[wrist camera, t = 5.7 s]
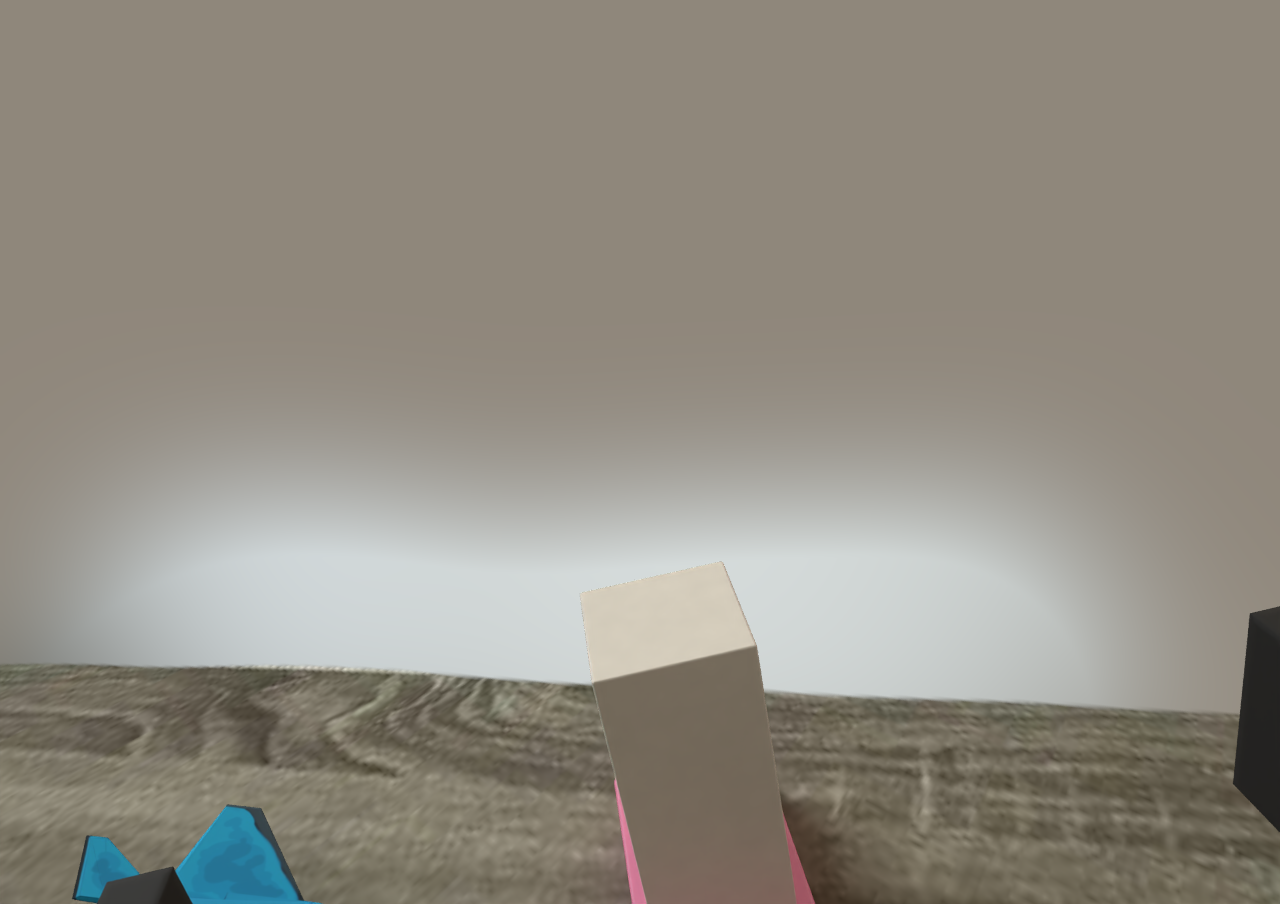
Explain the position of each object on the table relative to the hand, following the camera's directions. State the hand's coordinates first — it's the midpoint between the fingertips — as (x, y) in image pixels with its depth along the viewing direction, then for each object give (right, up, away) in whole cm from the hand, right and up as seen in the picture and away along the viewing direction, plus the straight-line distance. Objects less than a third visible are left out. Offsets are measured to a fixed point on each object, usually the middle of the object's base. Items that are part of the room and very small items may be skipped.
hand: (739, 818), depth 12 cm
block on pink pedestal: (+1, -8, +15) cm, 17 cm away
